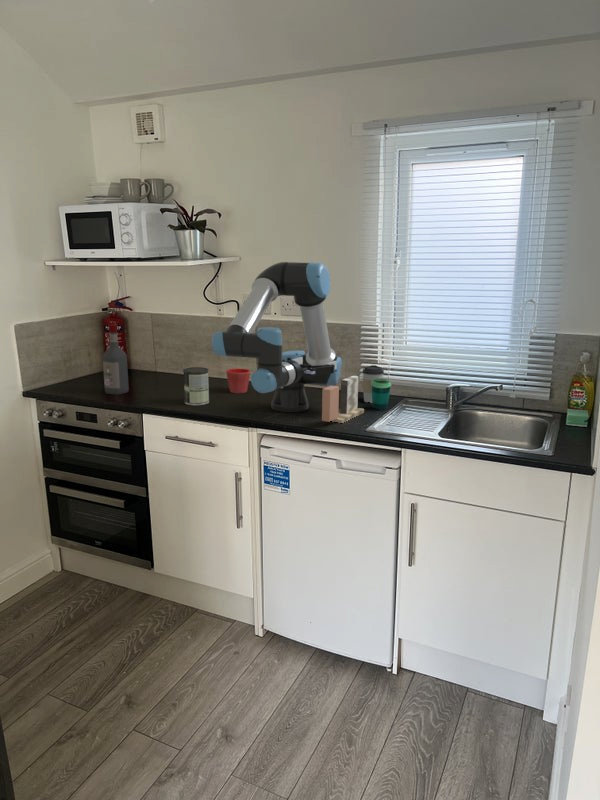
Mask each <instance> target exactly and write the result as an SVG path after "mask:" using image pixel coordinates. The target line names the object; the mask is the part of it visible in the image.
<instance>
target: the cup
mask: <svg viewBox="0 0 600 800" xmlns="http://www.w3.org/2000/svg"><path fill="white" fill-rule="evenodd" d="M371 385H372V402H373V403H372V408H373V409H374V408H375V410H380V409H383V410H386V409H387V408H388V404H389V399H390V395H391V387H392V383H391V382H390V379H388V378H384V377H383V378H377V379H374V380H373V382H372V383H371Z"/></svg>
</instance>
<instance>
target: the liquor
mask: <svg viewBox="0 0 600 800" xmlns="http://www.w3.org/2000/svg"><path fill="white" fill-rule="evenodd" d="M108 334H109V345H108V348H107V350H105V352H104V353H102V354H103V355H102V368H103V370H102V371H103V381H104V385H103V386H104V393H105V394H108V395H117V396H118V395H122V394H126V393H128V392H129V391H130V388H129V373H128V372H129V371H128V356H127V353H126V352H125V351H124V350H123V349H122V348H121V347H120V345H119V340H118V338H119V337H118V325H117V324H108Z"/></svg>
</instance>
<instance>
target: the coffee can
mask: <svg viewBox="0 0 600 800" xmlns="http://www.w3.org/2000/svg"><path fill="white" fill-rule="evenodd" d="M182 372H183V387H184V388H183V390H184V404H185V405H188V406H203V405H206V404H209V403H210V394H209V393H210V391H209V387H210V386H209V384H210V383H209V368H207V367H203V366H202V367H201V366H199V367H198V366H197V367H195V366H194V367H193V366H192V367H187V368H183V371H182Z"/></svg>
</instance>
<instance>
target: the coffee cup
mask: <svg viewBox="0 0 600 800" xmlns="http://www.w3.org/2000/svg"><path fill="white" fill-rule="evenodd" d="M384 374H385V371H384V369H382V367H381V366H378V365H375V364H371V365H369V366H368V365H367V366H365V367H364V368H363V369H362V389H363V401H364V403H368V402H370V404H373V402H372V385H371V383H372V382H373V380H374V379H377V378H384Z"/></svg>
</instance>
